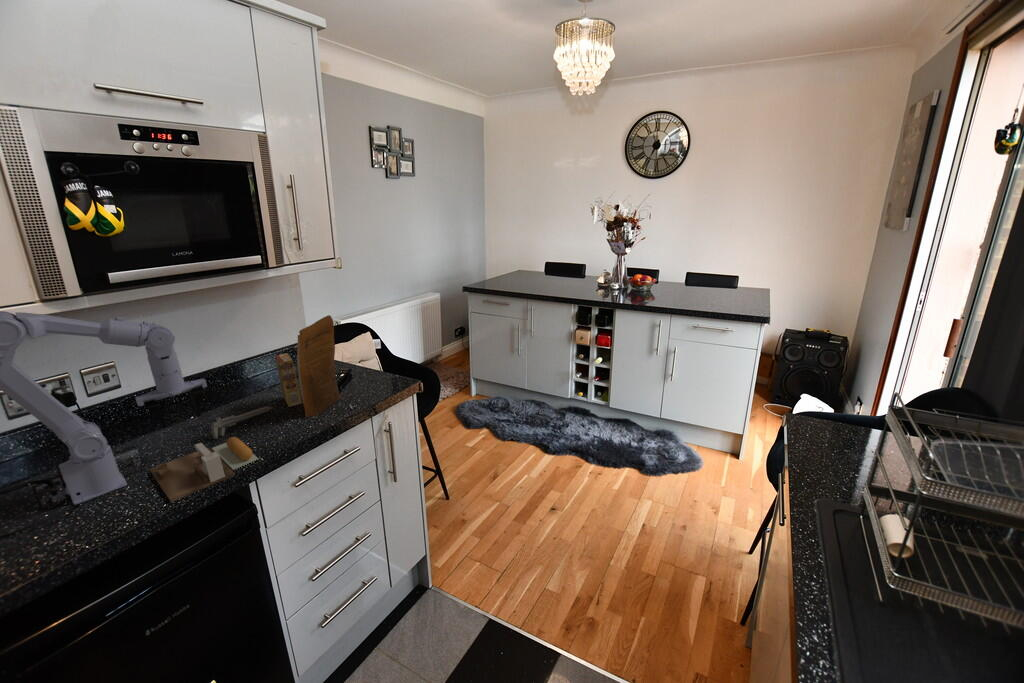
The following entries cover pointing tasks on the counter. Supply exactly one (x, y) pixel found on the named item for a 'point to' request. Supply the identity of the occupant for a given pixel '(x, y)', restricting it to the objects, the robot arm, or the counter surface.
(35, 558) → the counter surface
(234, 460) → the mat
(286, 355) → the candy box
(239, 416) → the caliper
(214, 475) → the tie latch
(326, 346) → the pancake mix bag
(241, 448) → the orange sausage
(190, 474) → the clamp board
